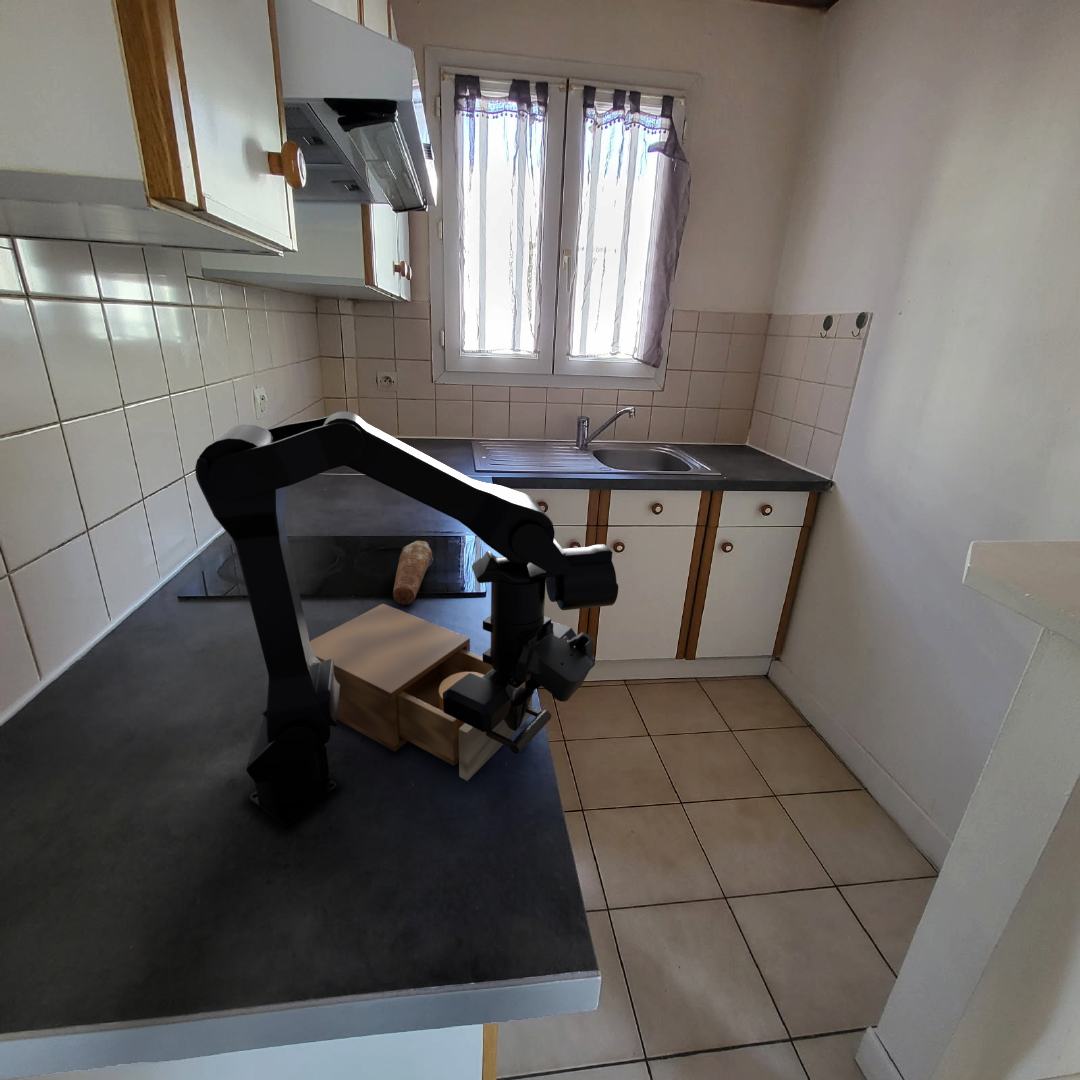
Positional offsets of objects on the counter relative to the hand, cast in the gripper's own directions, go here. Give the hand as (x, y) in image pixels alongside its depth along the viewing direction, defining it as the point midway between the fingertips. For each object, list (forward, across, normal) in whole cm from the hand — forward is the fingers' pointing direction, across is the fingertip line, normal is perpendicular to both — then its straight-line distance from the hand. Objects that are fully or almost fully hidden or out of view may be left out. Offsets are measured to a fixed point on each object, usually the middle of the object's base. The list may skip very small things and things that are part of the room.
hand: (514, 728), depth 66 cm
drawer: (+4, 0, +7) cm, 8 cm away
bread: (+5, +27, +42) cm, 50 cm away
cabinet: (+4, 0, +21) cm, 21 cm away
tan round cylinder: (+2, 0, +7) cm, 8 cm away
